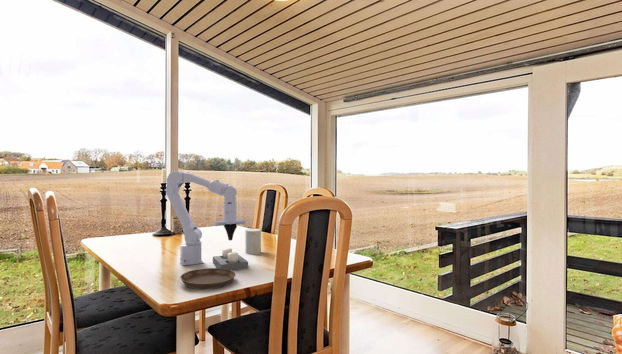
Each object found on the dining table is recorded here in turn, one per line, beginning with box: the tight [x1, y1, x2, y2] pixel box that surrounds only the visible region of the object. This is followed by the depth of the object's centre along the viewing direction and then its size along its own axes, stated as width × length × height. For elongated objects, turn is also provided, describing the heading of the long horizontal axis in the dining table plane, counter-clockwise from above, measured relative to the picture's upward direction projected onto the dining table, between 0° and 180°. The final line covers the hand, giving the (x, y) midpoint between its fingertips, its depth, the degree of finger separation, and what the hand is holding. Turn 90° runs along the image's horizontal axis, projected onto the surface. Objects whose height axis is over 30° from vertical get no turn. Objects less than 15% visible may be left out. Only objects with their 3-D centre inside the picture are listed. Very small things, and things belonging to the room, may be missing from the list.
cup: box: [244, 228, 262, 255], centre depth 197 cm, size 8×8×12 cm
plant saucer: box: [180, 267, 236, 290], centre depth 145 cm, size 21×21×3 cm
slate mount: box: [212, 254, 249, 271], centre depth 170 cm, size 12×16×3 cm
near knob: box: [228, 251, 239, 264], centre depth 166 cm, size 4×4×4 cm
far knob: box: [221, 247, 233, 259], centre depth 174 cm, size 4×4×4 cm
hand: (230, 240), depth 177 cm, fingers closed
